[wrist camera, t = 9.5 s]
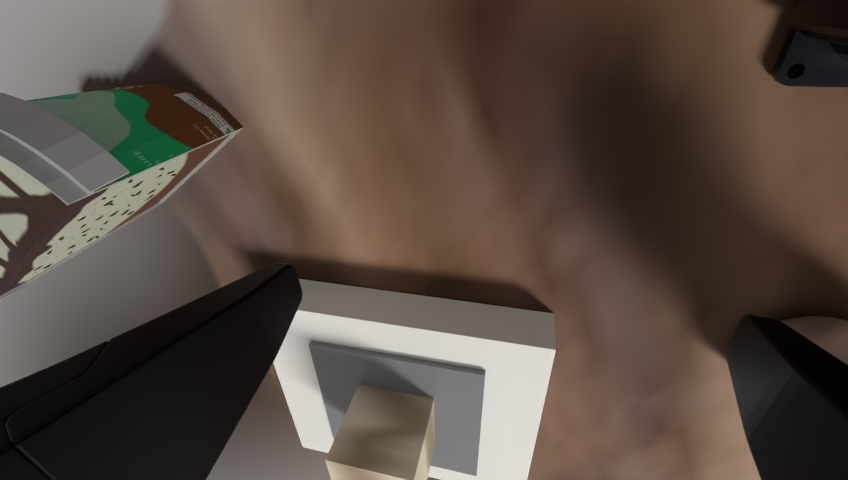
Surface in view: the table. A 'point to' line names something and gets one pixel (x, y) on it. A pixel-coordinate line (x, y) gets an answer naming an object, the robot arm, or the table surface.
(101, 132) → the food container
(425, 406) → the birch block
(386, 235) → the table surface
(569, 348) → the table surface
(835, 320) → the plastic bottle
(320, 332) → the base
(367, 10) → the table surface
